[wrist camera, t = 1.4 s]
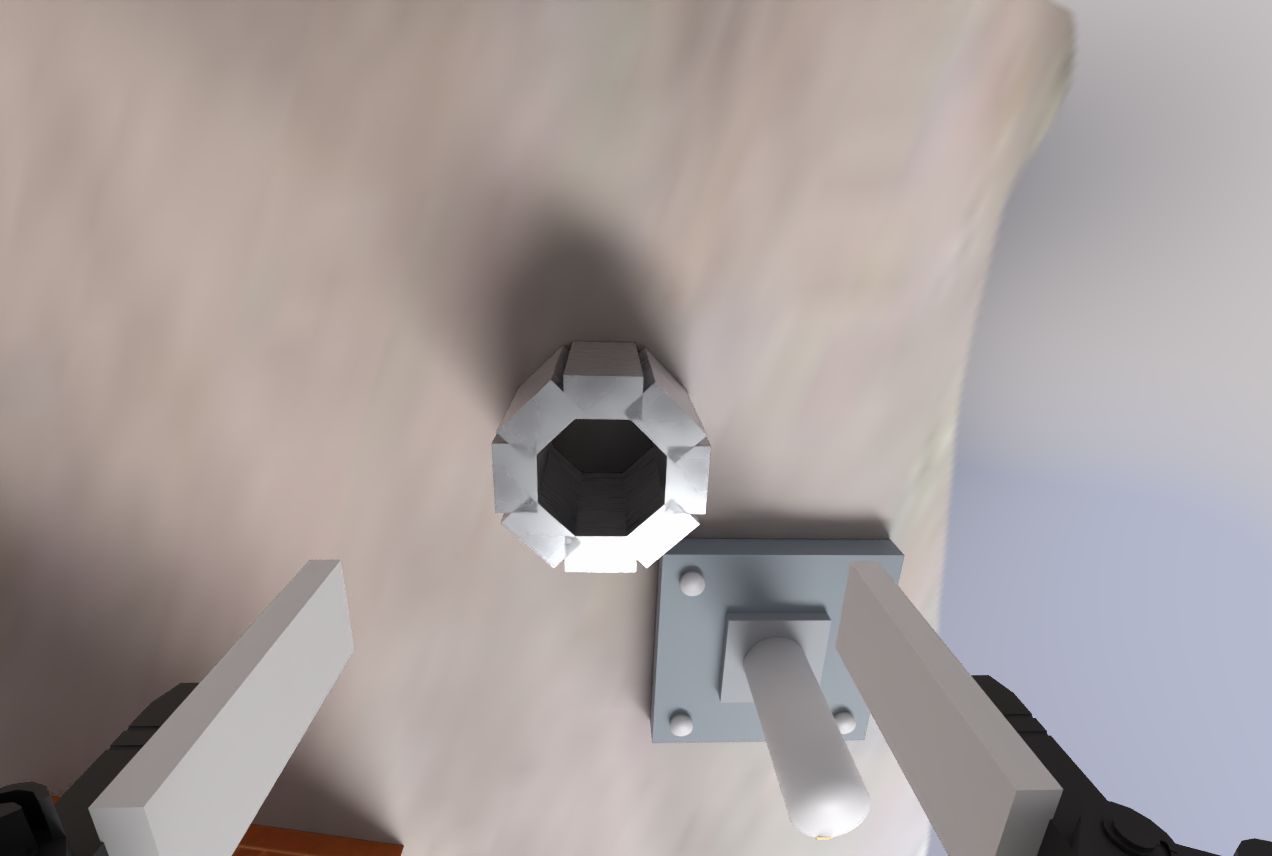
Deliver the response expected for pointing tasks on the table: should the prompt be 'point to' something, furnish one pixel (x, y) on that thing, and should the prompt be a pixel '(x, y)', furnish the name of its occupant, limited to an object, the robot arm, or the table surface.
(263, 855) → the book
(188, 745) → the robot arm
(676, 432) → the hub
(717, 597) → the shaft block
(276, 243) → the table surface
